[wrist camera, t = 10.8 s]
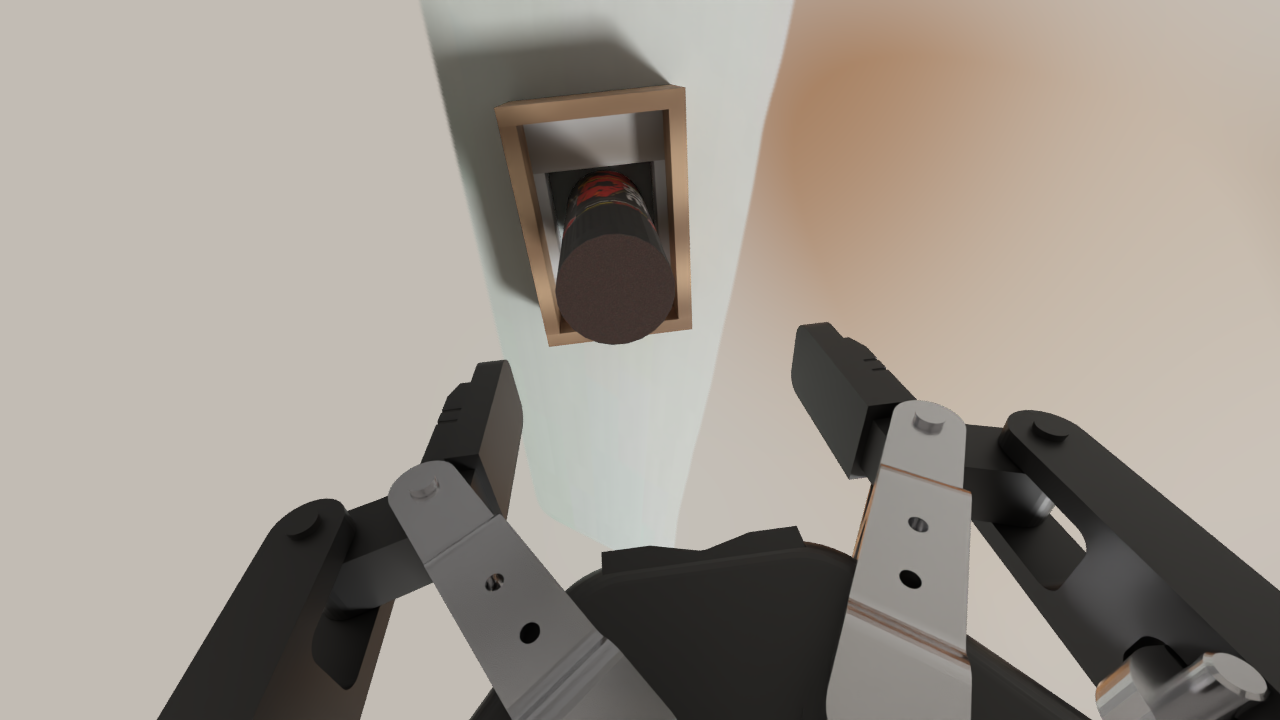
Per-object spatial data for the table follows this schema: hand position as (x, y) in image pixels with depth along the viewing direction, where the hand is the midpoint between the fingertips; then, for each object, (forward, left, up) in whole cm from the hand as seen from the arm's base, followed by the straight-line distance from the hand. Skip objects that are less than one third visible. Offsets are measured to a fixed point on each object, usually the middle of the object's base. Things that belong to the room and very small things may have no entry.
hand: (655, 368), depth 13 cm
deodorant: (+2, -1, -25) cm, 26 cm away
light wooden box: (+2, -1, -25) cm, 25 cm away
